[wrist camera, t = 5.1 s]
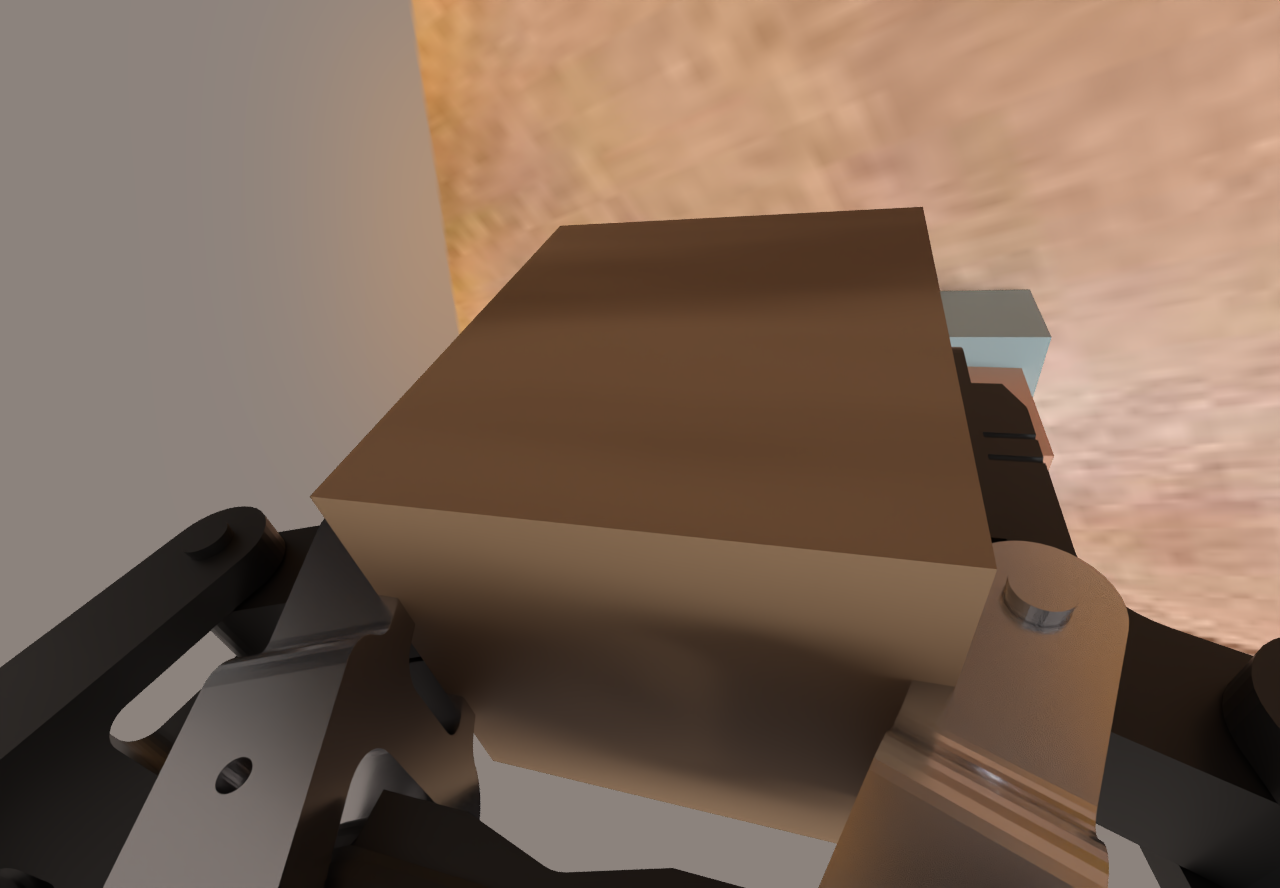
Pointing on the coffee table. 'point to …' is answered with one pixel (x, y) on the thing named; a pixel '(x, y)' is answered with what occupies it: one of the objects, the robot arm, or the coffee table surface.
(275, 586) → the robot arm
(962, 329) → the tower base
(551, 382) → the walnut block
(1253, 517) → the coffee table surface
